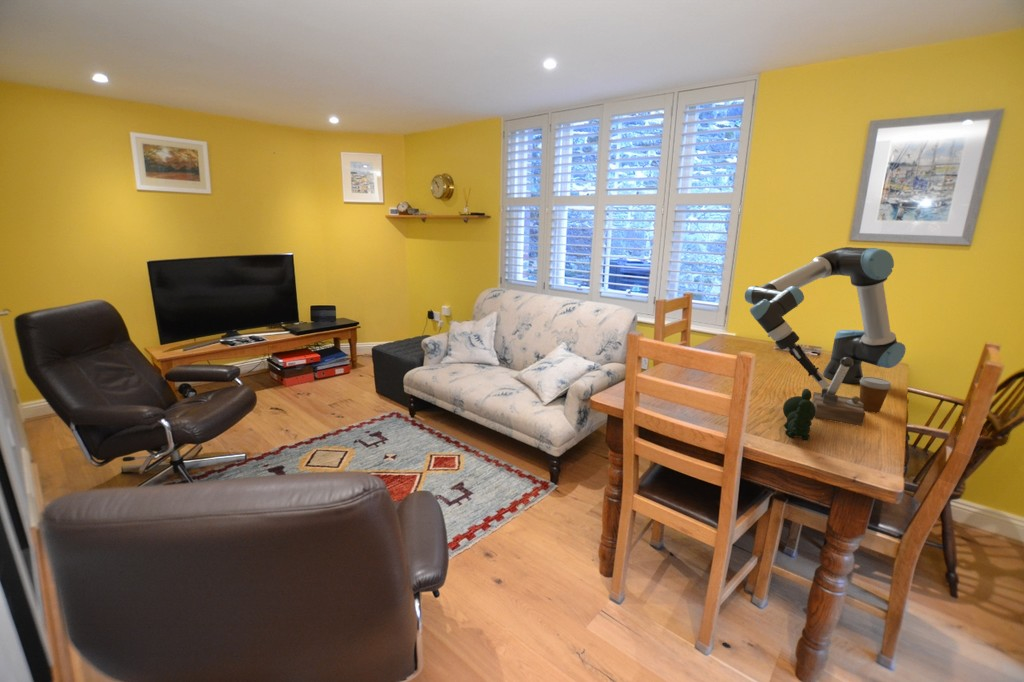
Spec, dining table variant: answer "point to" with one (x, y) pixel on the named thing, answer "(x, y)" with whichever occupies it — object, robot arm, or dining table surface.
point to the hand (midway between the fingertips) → (826, 386)
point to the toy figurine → (799, 415)
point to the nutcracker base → (838, 408)
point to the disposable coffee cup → (873, 393)
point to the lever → (840, 375)
